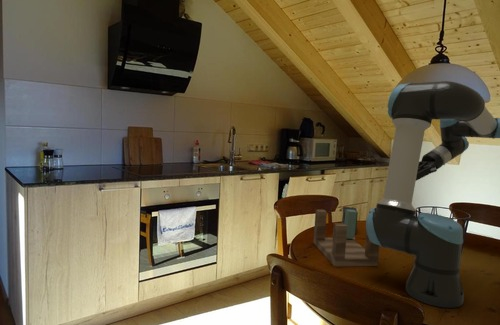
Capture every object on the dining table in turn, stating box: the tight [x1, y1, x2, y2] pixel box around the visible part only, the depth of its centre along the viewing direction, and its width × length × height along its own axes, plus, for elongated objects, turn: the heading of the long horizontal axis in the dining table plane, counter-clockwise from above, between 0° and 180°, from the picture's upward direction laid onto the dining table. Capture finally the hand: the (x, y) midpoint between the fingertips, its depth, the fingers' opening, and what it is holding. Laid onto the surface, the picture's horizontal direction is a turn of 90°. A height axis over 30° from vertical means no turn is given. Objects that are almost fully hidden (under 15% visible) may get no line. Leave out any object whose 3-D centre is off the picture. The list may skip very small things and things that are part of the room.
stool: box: [313, 208, 380, 267], centre depth 135 cm, size 24×16×14 cm, turn 7°
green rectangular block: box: [344, 209, 358, 241], centre depth 145 cm, size 4×4×12 cm
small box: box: [341, 206, 359, 235], centre depth 166 cm, size 11×6×10 cm, turn 168°
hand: (393, 186), depth 138 cm, fingers closed
